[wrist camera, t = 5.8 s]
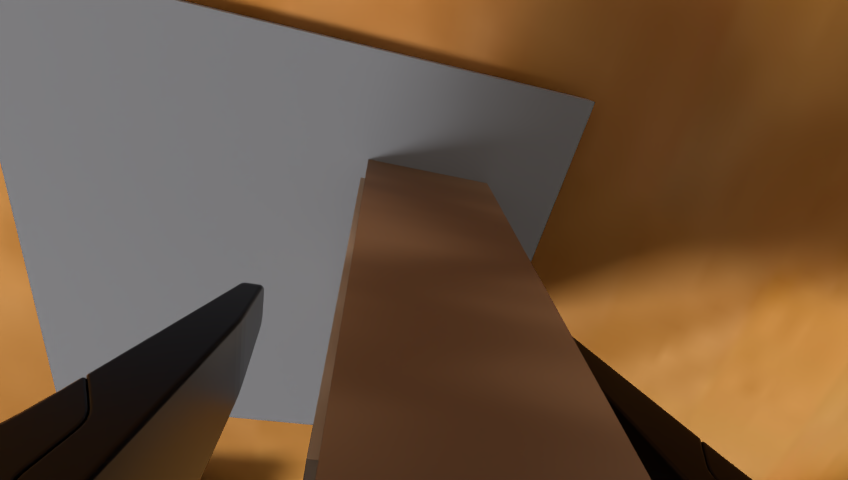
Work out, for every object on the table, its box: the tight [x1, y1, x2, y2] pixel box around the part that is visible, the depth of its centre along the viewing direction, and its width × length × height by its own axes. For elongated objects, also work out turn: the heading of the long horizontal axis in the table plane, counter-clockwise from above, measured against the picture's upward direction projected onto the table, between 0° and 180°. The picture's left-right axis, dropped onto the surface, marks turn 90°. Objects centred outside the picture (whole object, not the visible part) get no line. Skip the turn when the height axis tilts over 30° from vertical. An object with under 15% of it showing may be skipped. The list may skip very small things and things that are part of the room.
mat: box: [0, 0, 595, 425], centre depth 12 cm, size 13×12×1 cm
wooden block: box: [303, 159, 651, 480], centre depth 8 cm, size 3×5×8 cm, turn 167°
